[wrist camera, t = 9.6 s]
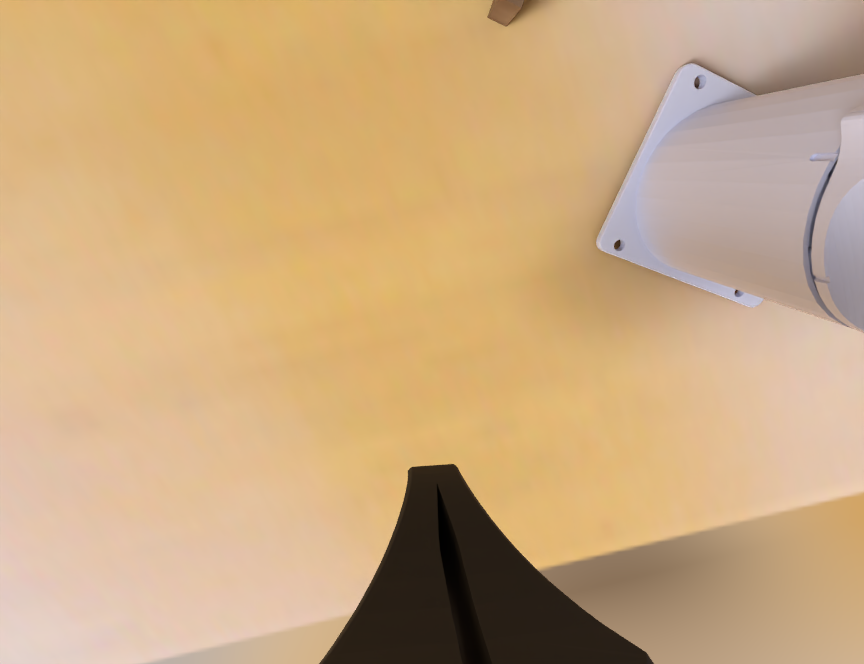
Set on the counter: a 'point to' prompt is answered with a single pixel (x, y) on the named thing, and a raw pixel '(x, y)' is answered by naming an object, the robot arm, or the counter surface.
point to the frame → (504, 10)
